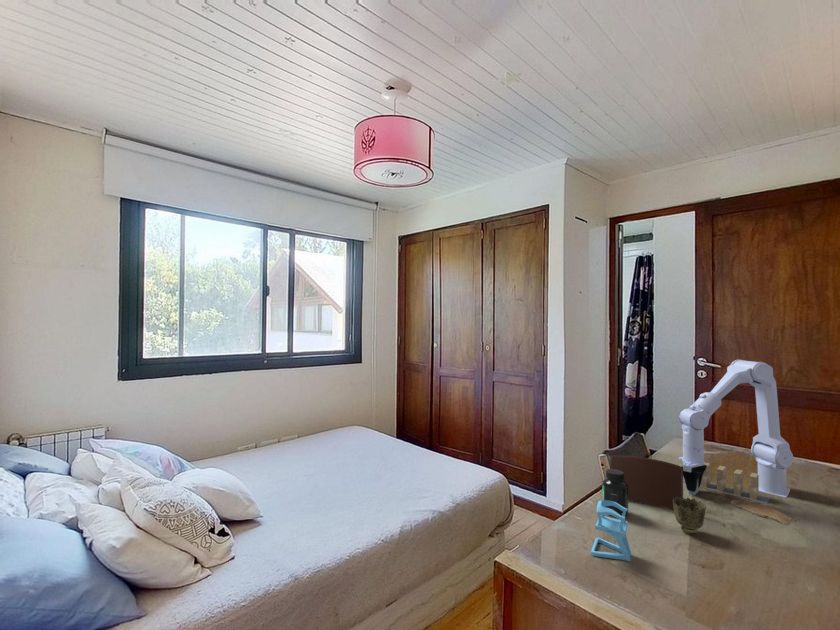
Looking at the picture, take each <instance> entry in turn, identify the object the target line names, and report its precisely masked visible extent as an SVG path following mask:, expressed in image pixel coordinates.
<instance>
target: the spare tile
mask: <svg viewBox="0 0 840 630" xmlns="http://www.w3.org/2000/svg"><path fill="white" fill-rule="evenodd" d="M698 493H699V487H698V481H697V487H696V491H695V492H693V491H689V490H688V495H690V496H696V494H698Z"/></svg>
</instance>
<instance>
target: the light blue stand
mask: <svg viewBox="0 0 840 630" xmlns="http://www.w3.org/2000/svg"><path fill="white" fill-rule="evenodd" d="M605 506H615V507H617V508H619V509H620V510H621V511H623V513H622V516H621V515H619V514H618V513H617V512H615V511H614V510H612V509H610V508H606V507H605ZM626 511H627V508H624V507H622V506H621V505H619V504H618V503H616V502H614V501H609V500H603V499H602V500H598V501H597V506H596V514H597V521H596V523H595V527H594V528H595V529H594V530H597V531H601V532H604V533H606V534H608V535H610V536H611V537H612V538H614V540H615V542H616V543H617V544H618V545H617V544H614V543H613V542H610V541H607V540H605V539H602V538H601V537H595V539H594V542H593V545H592V547H591V549H590V550H591V551H590V553H591V556H593V557H598V558H605V559H613V560H621V561H626V562H630V561H631V556H632V551H631V548H630V544H629V541H628V536H627V534H626V533H627V529H628V524H629V523H628V521H627V520H626V517H625V514H626ZM606 515H607V516H606ZM610 515H612V516H611V517H609V516H610ZM613 516H614V518H613ZM616 518H617V519H616ZM598 543H599V544H602V545H604V546H605V547H608V548H610V549H612V550H614V551H616V552H607V551H598V550H597V547H598ZM596 550H597V551H596ZM617 552H619V553H617Z"/></svg>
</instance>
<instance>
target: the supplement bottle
mask: <svg viewBox="0 0 840 630" xmlns="http://www.w3.org/2000/svg"><path fill="white" fill-rule="evenodd" d="M601 483H602V488H601V489H602V490H601V491H602V493H601V494H602V500H609V501H614V502H616V503H618V504H619V505H621V506H622V507H624V508H627V511H626V514H625V518H626V517H627V516H628V515H629V500H628V485H627V483H626V482H625V481H624V472H623V471H620V470H617V469H610V468H607V469H606V472H605V478H604V479H603V481H602V482H601ZM605 507H606V508H610V509H612V510H614V511H615V512H617V513H618V514H619V515H621V516H622V513H623V511H621V510H620V509H619V508H617V507H615V506H605ZM609 516H611V517H612V518H613V517H614V516H612V515H609ZM614 518H615V517H614Z"/></svg>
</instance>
